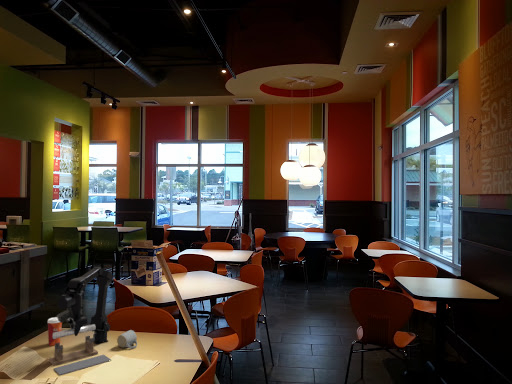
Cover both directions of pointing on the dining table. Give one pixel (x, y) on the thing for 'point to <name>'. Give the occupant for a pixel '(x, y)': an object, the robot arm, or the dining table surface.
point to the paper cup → (53, 330)
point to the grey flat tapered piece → (81, 364)
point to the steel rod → (71, 331)
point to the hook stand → (73, 353)
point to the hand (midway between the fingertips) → (74, 335)
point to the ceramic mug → (127, 339)
